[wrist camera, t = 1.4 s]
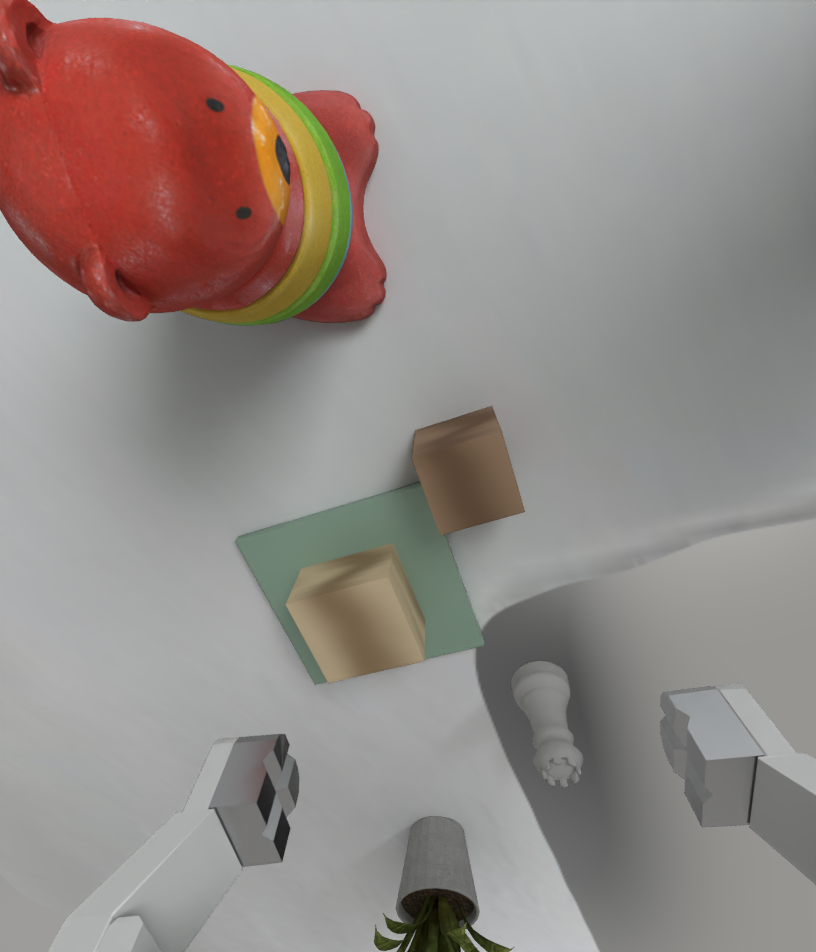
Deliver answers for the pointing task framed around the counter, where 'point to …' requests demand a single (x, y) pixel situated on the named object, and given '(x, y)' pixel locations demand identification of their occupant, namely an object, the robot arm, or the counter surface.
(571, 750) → the rook chess piece
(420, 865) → the house plant
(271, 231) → the stacking bear
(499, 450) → the walnut cube
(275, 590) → the build pad
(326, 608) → the oak base block
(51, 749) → the counter surface
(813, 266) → the counter surface
